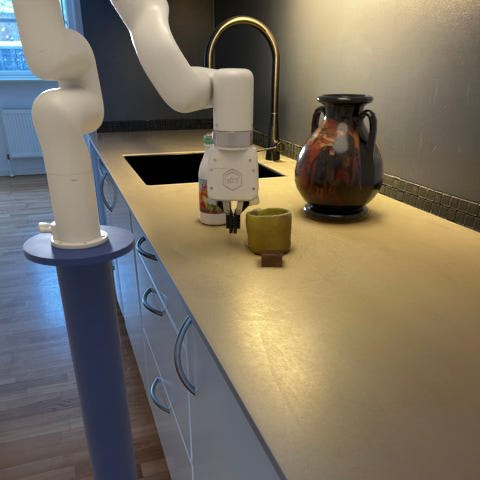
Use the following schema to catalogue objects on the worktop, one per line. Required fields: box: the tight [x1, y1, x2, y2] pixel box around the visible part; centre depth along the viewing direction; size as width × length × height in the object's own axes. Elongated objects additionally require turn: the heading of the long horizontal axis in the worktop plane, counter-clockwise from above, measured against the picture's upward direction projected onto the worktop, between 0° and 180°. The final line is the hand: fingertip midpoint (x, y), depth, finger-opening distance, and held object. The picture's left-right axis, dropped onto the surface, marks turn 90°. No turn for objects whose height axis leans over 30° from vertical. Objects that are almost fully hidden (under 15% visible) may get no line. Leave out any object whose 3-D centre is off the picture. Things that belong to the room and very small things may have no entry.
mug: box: [244, 207, 293, 255], centre depth 106 cm, size 12×10×10 cm
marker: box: [260, 250, 283, 268], centre depth 98 cm, size 4×3×2 cm
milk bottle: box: [198, 134, 232, 226], centre depth 121 cm, size 8×8×20 cm
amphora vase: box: [294, 93, 385, 224], centre depth 123 cm, size 22×22×28 cm
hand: (233, 231), depth 107 cm, fingers closed
